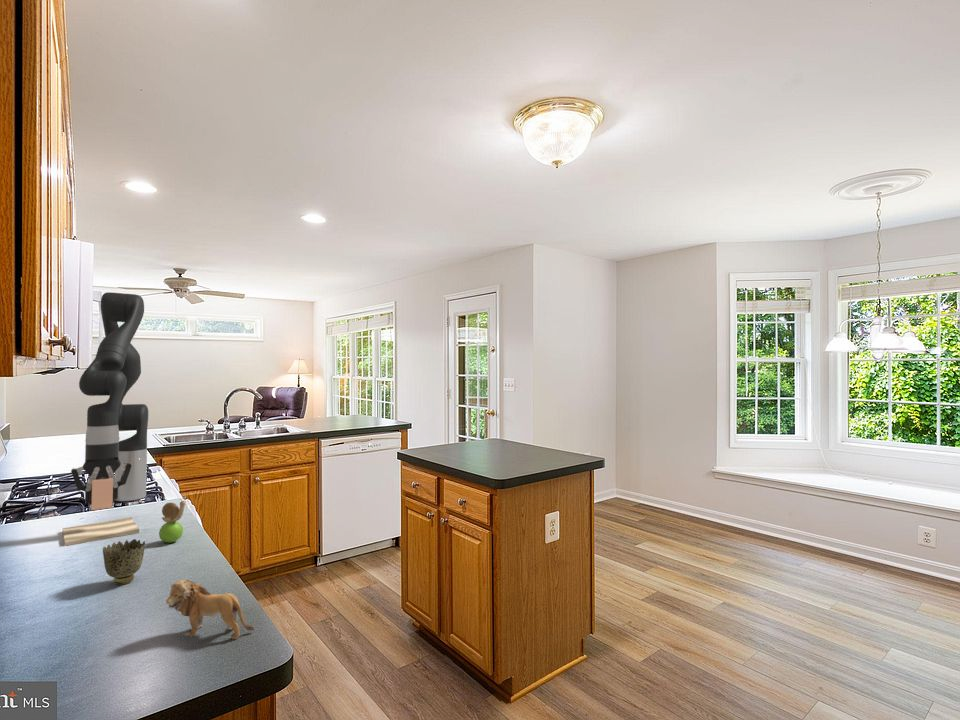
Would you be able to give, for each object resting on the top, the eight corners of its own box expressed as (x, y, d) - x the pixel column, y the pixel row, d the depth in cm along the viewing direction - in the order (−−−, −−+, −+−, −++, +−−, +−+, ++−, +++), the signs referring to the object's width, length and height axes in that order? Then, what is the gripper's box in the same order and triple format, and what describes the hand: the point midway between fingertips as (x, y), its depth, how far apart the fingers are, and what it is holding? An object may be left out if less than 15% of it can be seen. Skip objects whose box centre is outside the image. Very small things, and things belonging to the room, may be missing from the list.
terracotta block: (90, 507, 140) (90, 478, 140) (110, 504, 143) (111, 476, 144) (91, 510, 137) (92, 481, 137) (112, 507, 140) (113, 478, 140)
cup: (151, 579, 108) (152, 542, 109) (112, 592, 102) (113, 553, 102) (133, 572, 112) (134, 536, 112) (95, 584, 106) (96, 546, 106)
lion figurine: (159, 641, 84) (160, 587, 84) (178, 625, 89) (178, 574, 89) (248, 640, 84) (248, 586, 84) (261, 624, 90) (261, 573, 90)
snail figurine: (178, 545, 129) (179, 499, 130) (154, 545, 130) (154, 499, 130) (191, 538, 135) (191, 494, 135) (167, 538, 135) (168, 493, 135)
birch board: (62, 531, 140) (62, 528, 140) (131, 520, 151) (131, 517, 151) (64, 545, 129) (64, 542, 129) (139, 532, 140) (139, 529, 140)
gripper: (131, 438, 148) (130, 496, 148) (69, 442, 139) (67, 504, 138) (135, 440, 142) (134, 500, 142) (70, 445, 133) (69, 510, 133)
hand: (101, 502), depth 140 cm, fingers closed on terracotta block, 4 cm apart
